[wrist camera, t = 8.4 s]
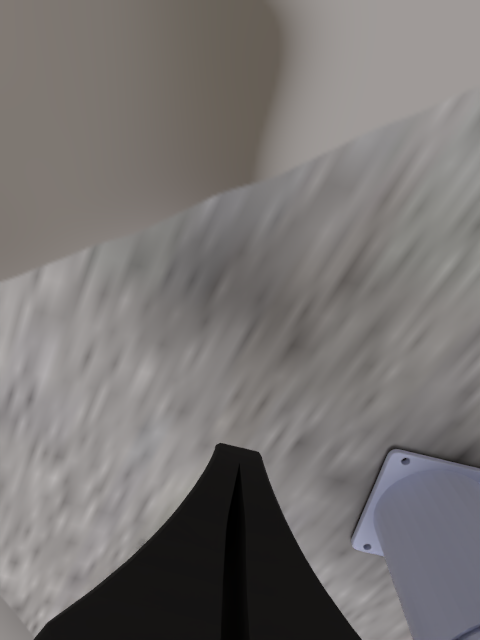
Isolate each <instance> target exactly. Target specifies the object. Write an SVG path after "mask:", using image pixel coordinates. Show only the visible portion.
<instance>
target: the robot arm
mask: <svg viewBox="0 0 480 640" xmlns="http://www.w3.org/2000/svg"><path fill="white" fill-rule="evenodd" d="M404 458H407V459H406V460H405V461H401V460H402V459H404ZM351 543H352V546H353V548H354V549H356V550H359V551H363V552H368V553H372V554H376V555H380V556H384V557H385V560H386V563H387V566H388V569H389V571H390V574H391V577H392V580H393V583H394V586H395V589H396V592H397V594H398V597H399V600H400V603H401V606H402V609H403V612H404V615H405V617H406V620H407V623H408V626H409V629H410V632H411V635H412V637H413V640H480V468H476V467H471V466H467V465H463V464H459V463H455V462H450V461H446V460H442V459H438V458H434V457H429V456H425V455H421V454H417V453H413V452H408V451H404V450H400V449H393V450H391V451H390V452H389V453H388V455H387V457H386V459H385V462H384V464H383V466H382V469H381V471H380V473H379V476H378V478H377V480H376V483H375V485H374V487H373V490H372V492H371V494H370V497H369V499H368V501H367V504H366V506H365V508H364V511H363V513H362V515H361V518H360V520H359V522H358V525H357V527H356V529H355V532H354V534H353V536H352V539H351ZM365 544H367V545H365ZM34 640H362V639H361V638H360V637H359V635H358V634H357V633H356V632H355V630H354V629H353V628H352V627H351V625H350V624H349V623H348V621H347V620H346V618H345V617H344V616H343V614H342V613H341V611H340V610H339V609H338V607H337V606H336V604H335V603H334V602H333V600H332V599H331V597H330V596H329V595H328V593H327V592H326V590H325V589H324V587H323V586H322V584H321V583H320V581H319V579H318V578H317V576H316V575H315V573H314V572H313V570H312V568H311V566H310V565H309V563H308V561H307V560H306V558H305V556H304V555H303V553H302V551H301V549H300V547H299V545H298V544H297V542H296V540H295V538H294V536H293V534H292V532H291V530H290V528H289V526H288V524H287V522H286V520H285V517H284V515H283V513H282V511H281V508H280V506H279V504H278V501H277V499H276V497H275V494H274V492H273V489H272V487H271V484H270V481H269V479H268V476H267V473H266V470H265V467H264V464H263V460H262V457H261V455H260V453H259V452H257V451H252V450H248V449H244V448H240V447H236V446H231V445H227V444H223V443H219V444H217V445H216V446H215V450H214V453H213V455H212V457H211V460H210V461H209V463H208V465H207V467H206V469H205V470H204V472H203V474H202V475H201V477H200V478H199V480H198V481H197V483H196V484H195V486H194V487H193V489H192V490H191V491H190V493H189V494H188V495H187V497H186V498H185V499H184V501H183V502H182V503H181V505H180V506H179V507H178V508H177V510H176V511H175V512H174V513H173V514H172V516H171V517H170V518H169V519H168V520H167V521H166V522H165V524H164V525H163V526H162V527H161V528H160V529H159V530H158V531H157V532H156V533H155V534H154V535H153V536H152V537H151V538H150V539H149V540H148V541H147V542H146V543H145V544H144V545H143V546H142V547H141V548H140V549H139V550H138V551H137V552H136V553H135V554H134V555H133V556H132V557H131V558H130V559H128V560H127V561H126V562H125V563H124V564H123V565H121V566H120V567H119V568H118V569H117V570H116V571H114V572H113V573H112V574H111V575H110V576H108V577H107V578H106V579H105V580H104V581H102V582H101V583H100V584H99V585H98V586H96V587H95V588H94V589H93V590H91V591H90V592H89V593H87V594H86V595H85V596H83V597H82V598H81V599H79V600H78V601H76V602H75V603H74V604H72V605H71V606H70V607H68V608H67V609H65V610H64V611H63V612H61V613H60V614H58V615H57V616H56V617H54V618H53V619H52V620H50V621H49V622H48V623H47V624H46V625H45V626H44V627H43V629H42V630H41V631H40V632H39V634H38V635H37V636H36V637H35V639H34Z"/></svg>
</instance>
